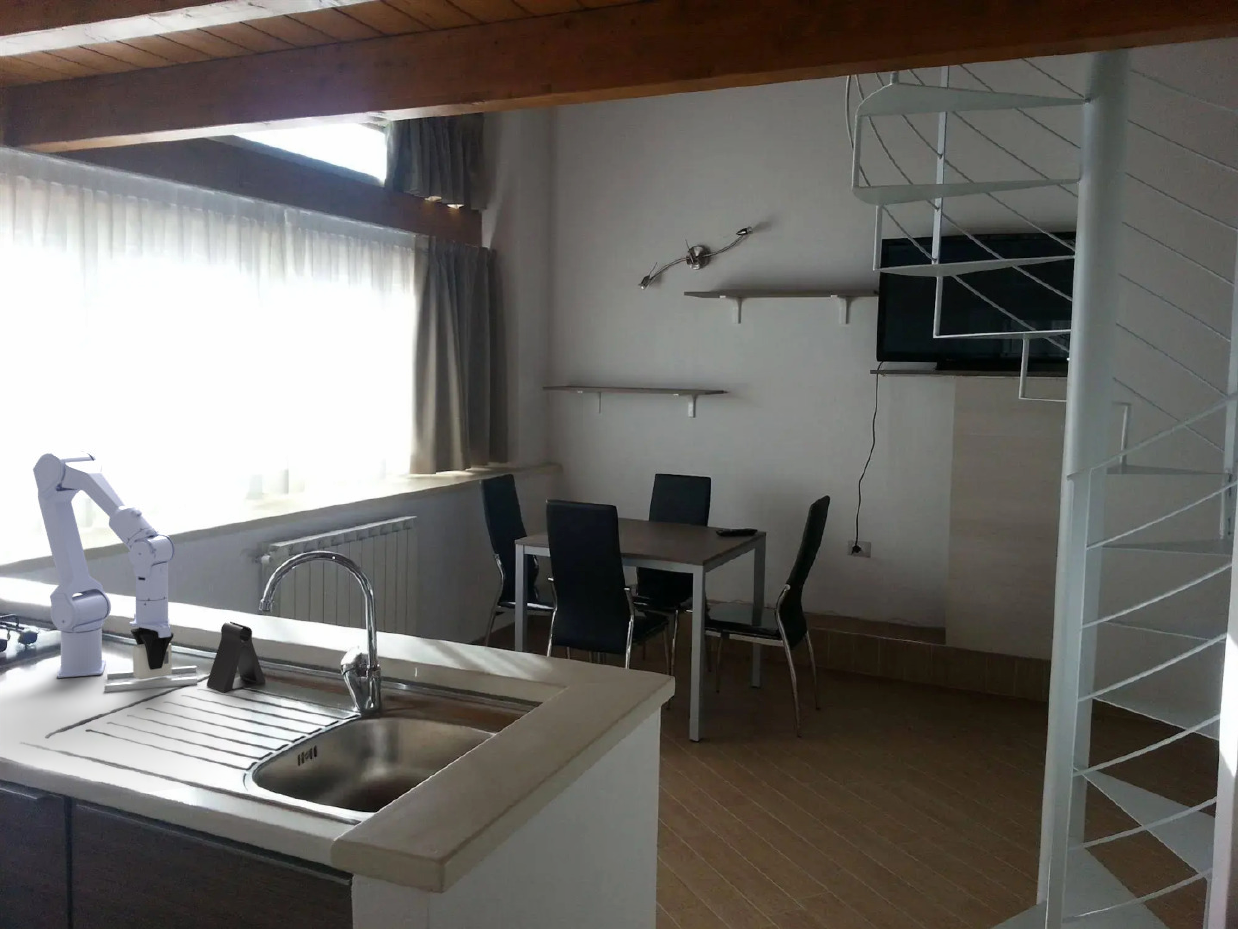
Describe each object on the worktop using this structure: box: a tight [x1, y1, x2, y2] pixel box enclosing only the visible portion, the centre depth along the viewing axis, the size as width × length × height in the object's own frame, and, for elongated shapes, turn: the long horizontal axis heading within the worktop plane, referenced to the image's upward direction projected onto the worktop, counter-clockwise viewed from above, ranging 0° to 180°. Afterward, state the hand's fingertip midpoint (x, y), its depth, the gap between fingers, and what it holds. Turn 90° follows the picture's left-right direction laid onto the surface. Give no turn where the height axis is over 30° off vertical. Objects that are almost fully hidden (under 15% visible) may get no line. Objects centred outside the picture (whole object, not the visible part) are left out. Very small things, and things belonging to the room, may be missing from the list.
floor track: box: [104, 665, 198, 693], centre depth 191 cm, size 9×16×1 cm, turn 114°
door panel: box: [132, 642, 173, 680], centre depth 191 cm, size 3×6×6 cm, turn 134°
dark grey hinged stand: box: [206, 621, 266, 694], centre depth 191 cm, size 9×6×12 cm, turn 143°
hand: (152, 666), depth 191 cm, fingers closed on door panel, 3 cm apart
